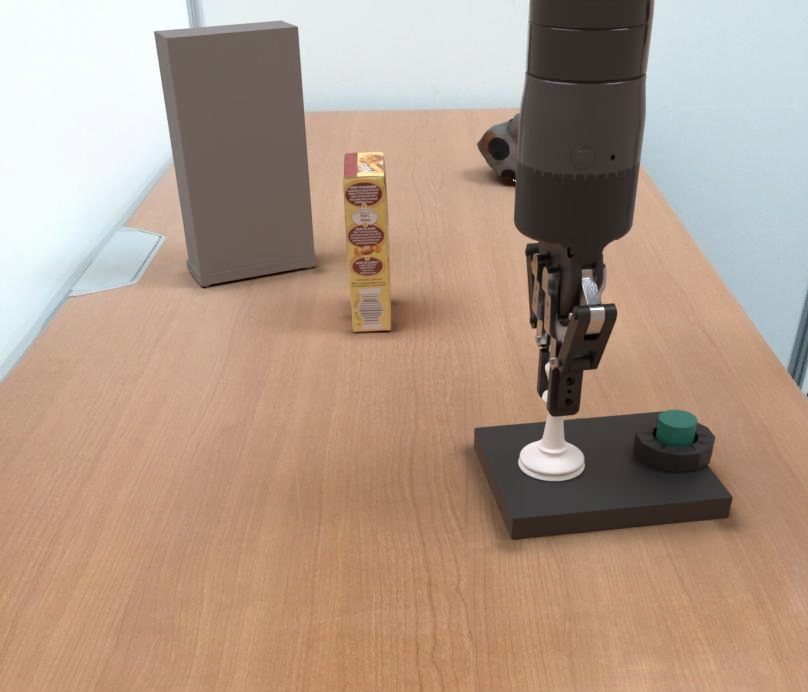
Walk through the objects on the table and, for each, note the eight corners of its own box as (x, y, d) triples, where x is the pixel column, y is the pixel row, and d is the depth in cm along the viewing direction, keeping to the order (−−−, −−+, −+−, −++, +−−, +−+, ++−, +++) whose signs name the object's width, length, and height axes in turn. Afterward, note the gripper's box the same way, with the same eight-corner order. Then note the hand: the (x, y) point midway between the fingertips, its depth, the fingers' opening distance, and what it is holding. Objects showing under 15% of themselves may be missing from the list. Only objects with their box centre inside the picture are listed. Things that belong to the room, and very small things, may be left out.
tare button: (685, 428, 73) (688, 407, 72) (699, 446, 71) (703, 425, 70) (650, 431, 73) (653, 411, 72) (663, 449, 71) (667, 429, 70)
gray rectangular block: (299, 251, 116) (279, 19, 101) (317, 267, 111) (299, 26, 97) (187, 271, 111) (150, 30, 97) (201, 288, 107) (165, 38, 92)
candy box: (392, 332, 96) (388, 175, 87) (350, 333, 96) (341, 176, 87) (389, 298, 103) (385, 150, 94) (350, 300, 103) (342, 151, 94)
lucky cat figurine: (540, 158, 148) (590, 75, 138) (573, 208, 143) (626, 126, 133) (462, 141, 140) (508, 52, 131) (492, 194, 135) (543, 105, 125)
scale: (672, 430, 79) (679, 392, 77) (739, 517, 69) (749, 476, 67) (473, 448, 77) (474, 409, 75) (511, 540, 67) (514, 499, 65)
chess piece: (547, 440, 74) (557, 319, 69) (598, 464, 71) (612, 339, 66) (504, 463, 72) (511, 339, 66) (555, 489, 69) (566, 362, 63)
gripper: (679, 180, 53) (640, 448, 64) (602, 123, 64) (579, 359, 75) (549, 188, 53) (530, 458, 63) (493, 129, 64) (485, 367, 74)
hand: (557, 403), depth 69 cm, fingers closed on chess piece, 2 cm apart
